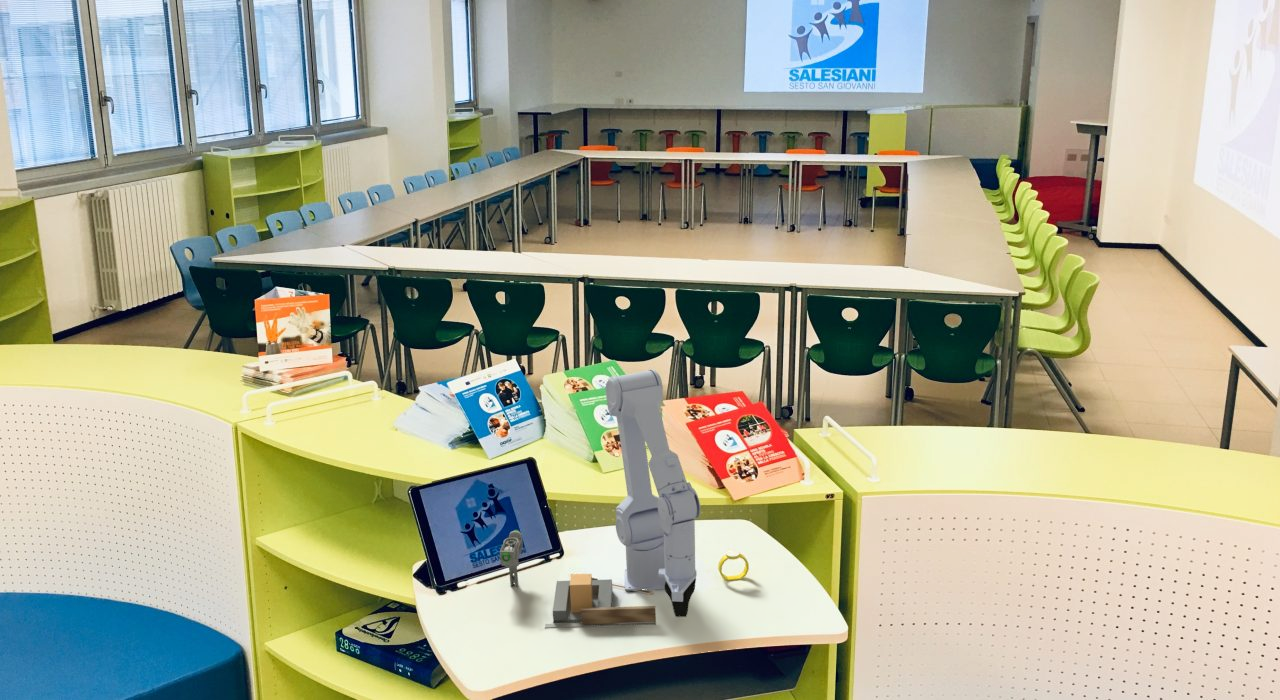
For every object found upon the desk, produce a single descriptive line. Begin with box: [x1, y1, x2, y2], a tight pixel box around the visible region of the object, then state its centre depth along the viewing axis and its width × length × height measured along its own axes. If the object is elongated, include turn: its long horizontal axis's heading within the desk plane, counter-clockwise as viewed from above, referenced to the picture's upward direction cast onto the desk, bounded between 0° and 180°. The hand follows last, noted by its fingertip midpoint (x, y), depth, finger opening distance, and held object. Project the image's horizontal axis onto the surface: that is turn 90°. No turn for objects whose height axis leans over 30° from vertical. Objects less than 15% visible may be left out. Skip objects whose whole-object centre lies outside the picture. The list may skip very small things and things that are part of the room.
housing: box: [544, 579, 657, 629], centre depth 212 cm, size 21×13×3 cm, turn 90°
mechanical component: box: [499, 529, 524, 587], centre depth 220 cm, size 3×10×10 cm, turn 174°
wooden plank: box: [581, 605, 657, 624], centre depth 206 cm, size 14×1×3 cm, turn 90°
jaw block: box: [569, 573, 593, 613], centre depth 211 cm, size 4×4×6 cm
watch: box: [717, 549, 750, 582], centre depth 220 cm, size 6×3×6 cm, turn 99°
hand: (681, 614), depth 206 cm, fingers closed
